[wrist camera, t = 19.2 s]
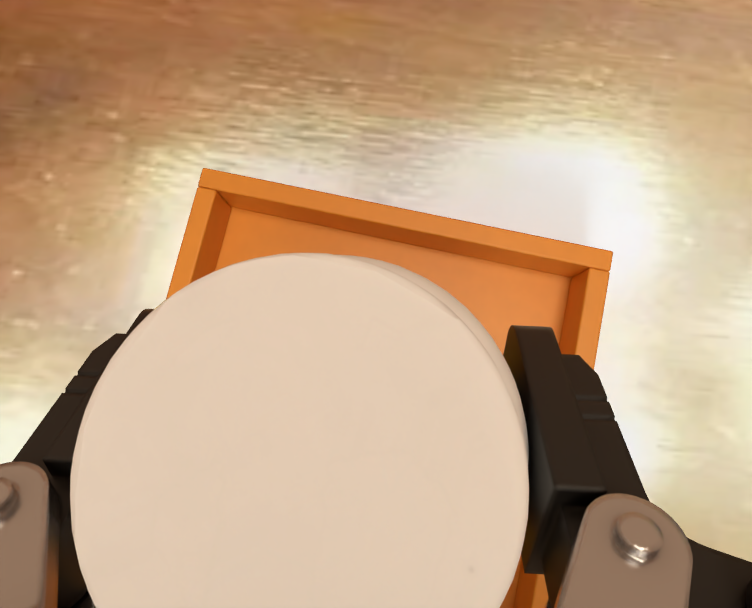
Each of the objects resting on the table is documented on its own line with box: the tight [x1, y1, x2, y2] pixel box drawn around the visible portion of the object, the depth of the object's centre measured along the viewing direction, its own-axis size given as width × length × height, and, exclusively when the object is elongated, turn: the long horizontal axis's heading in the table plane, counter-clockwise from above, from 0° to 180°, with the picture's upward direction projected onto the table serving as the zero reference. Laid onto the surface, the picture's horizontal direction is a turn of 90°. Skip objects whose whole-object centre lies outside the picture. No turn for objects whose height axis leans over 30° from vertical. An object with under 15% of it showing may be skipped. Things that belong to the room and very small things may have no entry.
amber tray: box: [166, 168, 613, 608], centre depth 16 cm, size 12×12×2 cm
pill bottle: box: [70, 253, 529, 608], centre depth 11 cm, size 6×6×11 cm
